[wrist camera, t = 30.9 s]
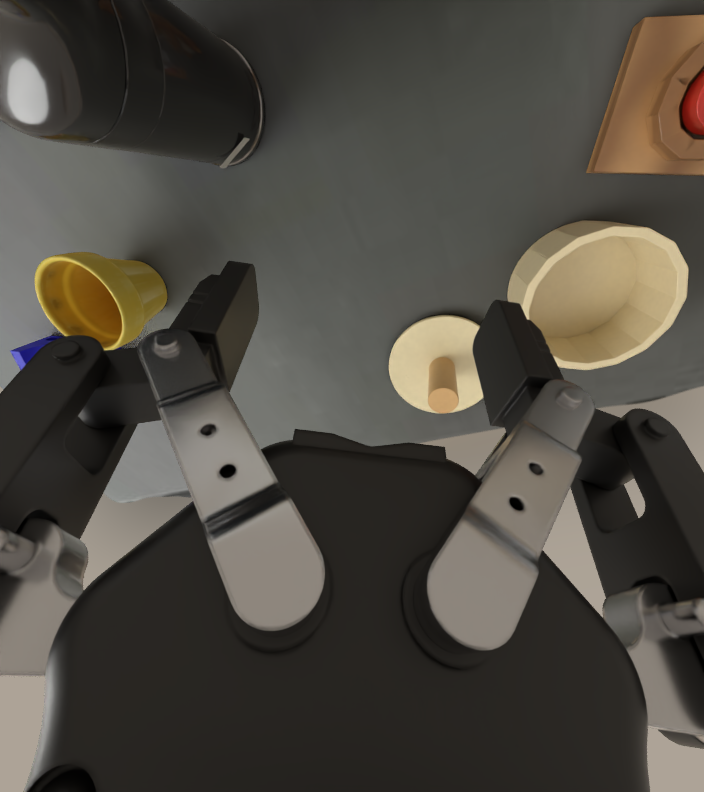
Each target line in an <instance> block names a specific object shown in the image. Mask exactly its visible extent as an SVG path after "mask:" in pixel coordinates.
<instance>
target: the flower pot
mask: <svg viewBox="0 0 704 792" xmlns="http://www.w3.org/2000/svg"><path fill="white" fill-rule="evenodd" d="M35 289H36V293H37V297H38V300H39V302H40V304H41V306H42V309H43V310H44V312H45V314H46V315H47V317H48V318H49V320H50V321H51V322H52V323H53V325H54V326H55V327H56V328H57V329H58V330H59V331H60V332H61V333H62V334H63V335H65V336H71V335H86V336H90V337H93V338H95V339H97V340H98V341H99V342H100V344H101V345H102V347H103V349H104V350H115V349H117V348H119V347H121V346H123V345H125V344H127V343H129V342H131V341H132V340H134V339H135V338H137V337H138V336H139V335H140V333H141V332H142V330H143V327H144V325H145V324H146V323H147V322H148V321H149V320H150V319H151V318H153V317H154V316H155V315H156V314H157V313H158V312H160V311H161V310H162V309H163V308H164V306H165V304H166V302H167V290H166V286H165V284H164V282H163V280H162V278H161V276H160V275H159V274H158V273H157V272H156V271H155V270H154V269H153V268H152V267H150V266H149V265H147V264H145V263H143V262H140V261H133V260H120V259H108V258H105V257H103V256H100V255H97V254H94V253H90V252H76V253H67V254H61V255H55V256H51V257H48V258H46V259H45V260H43V261H42V262H41V263H40V265H39V266H38V268H37V270H36V274H35Z"/></svg>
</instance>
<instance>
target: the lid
mask: <svg viewBox="0 0 704 792" xmlns="http://www.w3.org/2000/svg"><path fill="white" fill-rule="evenodd" d="M479 328H480V325H478V324H476V323H475V322H473V321H471V320H469V319H466V318H463V317H459V316H453V315H438V316H432V317H428V318H425V319H422V320H420V321H418V322H416V323H414V324H413V325H411V326H410V327H409V328H407V329H406V330H405V331H404V332H403V333H402V334H401V335H400V336H399V338H398V339H397V341H396V342H395V344H394V346H393V348H392V351H391V354H390V359H389V374H390V378H391V381H392V383H393V386H394V387H395V389H396V391H397V392H398V393H399V395H400V396H401V397H402V398H403V399H404V400H406V401H407V402H408V403H410V404H411V405H413V406H415V407H417V408H419V409H421V410H424V411H428V412H433V413H451V412H456V411H460V410H463V409H466V408H468V407H470V406H472V405H474V404H475V403H477V402H479V401H480V400H481V399H482V398H483V393H482V389H481V384H480V380H479V376H478V372H477V368H476V364H475V360H474V356H473V351H472V348H473V341H474V338H475V336H476V334H477V332H478V330H479Z"/></svg>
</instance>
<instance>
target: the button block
mask: <svg viewBox="0 0 704 792" xmlns="http://www.w3.org/2000/svg"><path fill="white" fill-rule="evenodd" d="M703 70H704V15H684V16H660V17H645V18H643V19H642V20H641V21H640V22H639V23H638V24H636V25H635V26H634V27H633V29H632V32H631V35H630V39H629V42H628V45H627V48H626V51H625V54H624V57H623V60H622V63H621V66H620V69H619V73H618V76H617V79H616V82H615V85H614V88H613V91H612V94H611V97H610V100H609V103H608V107H607V110H606V113H605V116H604V119H603V122H602V125H601V128H600V131H599V134H598V138H597V141H596V144H595V147H594V150H593V153H592V156H591V159H590V162H589V165H588V168H587V172H586V173H607V174H647V175H687V176H704V135H697V134H694V133H692V132H690V131H689V130H688V129H687V128H686V127H685V125H684V123H683V120H682V105H683V101H684V99H685V96H686V94H687V92H688V90H689V88H690V86H691V85H692V83H693V82H694V80H695V79H696V78H697V77H698V76H699V75H700V73H701V72H702V71H703Z"/></svg>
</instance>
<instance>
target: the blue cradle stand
mask: <svg viewBox="0 0 704 792" xmlns="http://www.w3.org/2000/svg"><path fill="white" fill-rule="evenodd" d="M58 338H62V337H61V336H49V337H46V338H43V339H41V340H38V341H35V342H33V343H30V344H27V345H24V346H22V347H19V348H16V349H14V350H11V353H12V355H13V357H14V359H15V361H16V362H17V364H18V366H19V368H20V370H22V368H23V367H24V366H25V365H26V364H27V363H28V362H29V361H30V359H31V358H32V357H33V356H34V355H35V354H36V353H37V351H38V350H39V349H41V348H42V347H43V346H44V345H46V344H47V343H49V342H51V341H53V340H56V339H58ZM117 349H121V347H119V348H117Z"/></svg>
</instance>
